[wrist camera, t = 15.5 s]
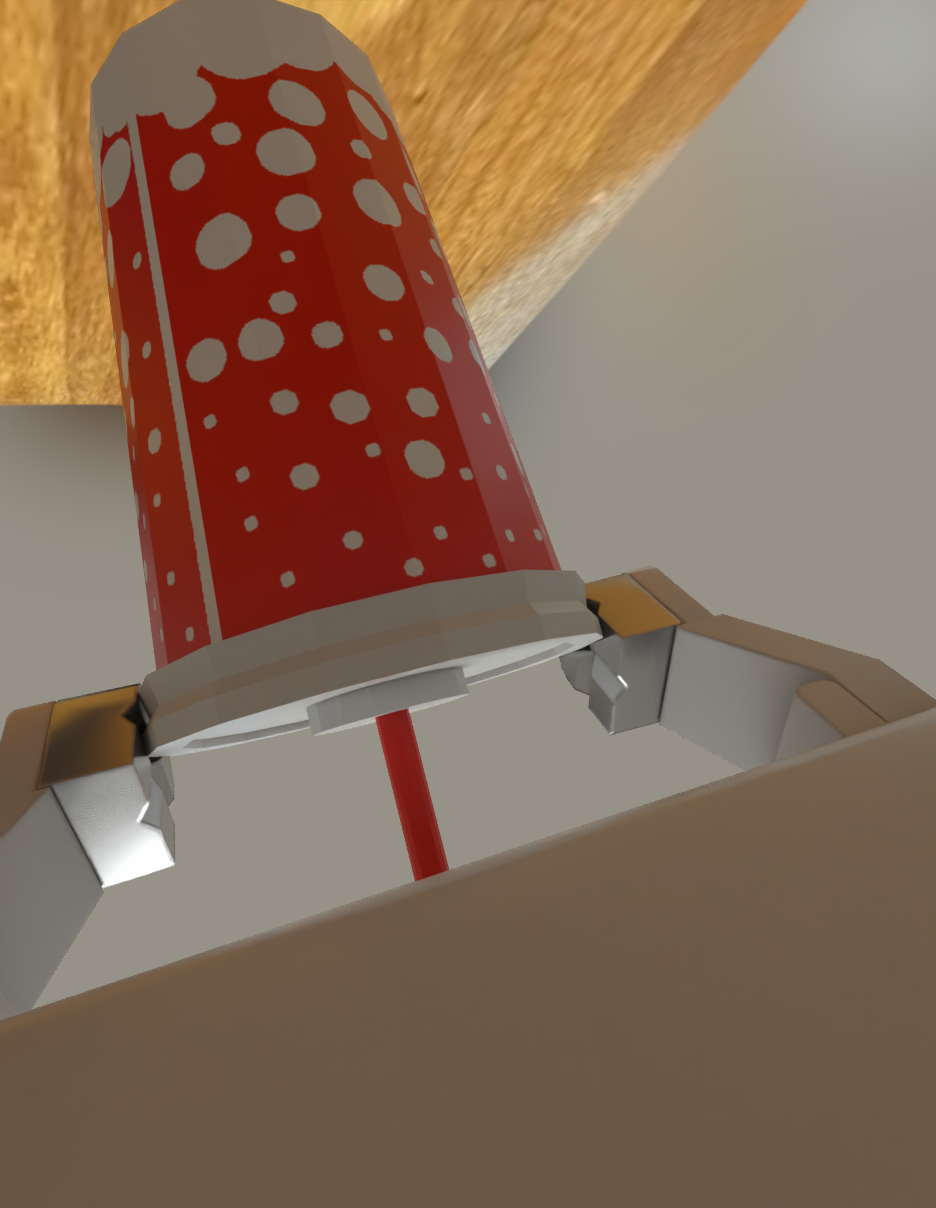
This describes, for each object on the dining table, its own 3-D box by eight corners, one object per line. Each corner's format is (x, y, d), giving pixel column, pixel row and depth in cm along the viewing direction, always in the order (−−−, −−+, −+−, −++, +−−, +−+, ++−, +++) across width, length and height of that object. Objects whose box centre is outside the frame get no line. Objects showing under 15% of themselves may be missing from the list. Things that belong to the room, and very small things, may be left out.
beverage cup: (247, 316, 15) (407, 992, 13) (-76, 132, 9) (106, 1269, 7) (496, 154, 12) (751, 959, 10) (256, -219, 7) (693, 1345, 5)
